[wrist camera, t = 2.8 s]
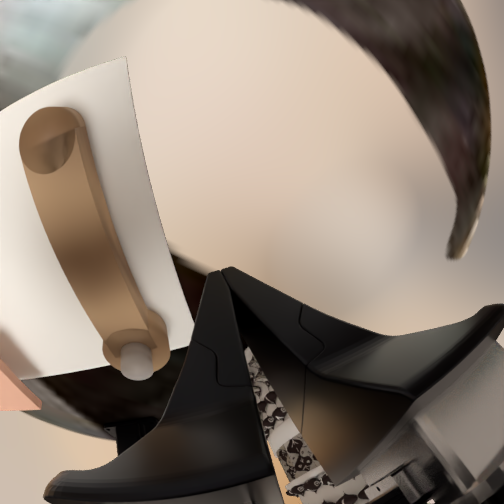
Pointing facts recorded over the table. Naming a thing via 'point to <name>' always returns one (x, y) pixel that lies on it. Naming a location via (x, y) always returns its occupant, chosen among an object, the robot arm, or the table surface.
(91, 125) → the board
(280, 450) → the decorative candle
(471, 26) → the table surface
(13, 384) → the plate
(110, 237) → the link
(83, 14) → the table surface
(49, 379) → the table surface
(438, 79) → the table surface
